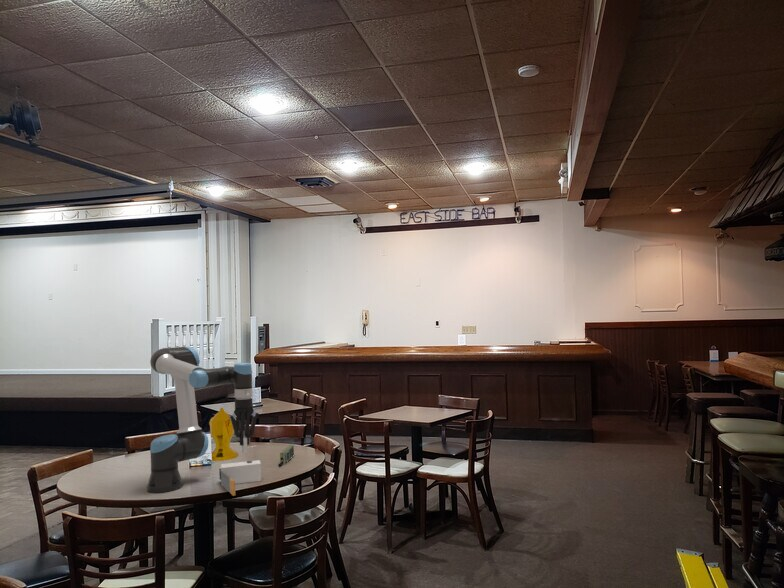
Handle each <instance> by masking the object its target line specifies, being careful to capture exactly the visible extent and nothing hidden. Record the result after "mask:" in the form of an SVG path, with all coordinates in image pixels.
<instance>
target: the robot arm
mask: <svg viewBox="0 0 784 588" xmlns="http://www.w3.org/2000/svg"><path fill="white" fill-rule="evenodd" d="M200 362H201V361H200V355H199V353H198V351H197V350H196V349H195V348H194V347H191V346H177V347H163V348H160V349H157V350H156V351H155V352H153V354H152V356H151V357H150V363H149V364H150V367H151V369H152V370H153V371H154V372H156V373H158V374H161V375H170V377H171V378H173V380H174V390H175V398H176V410H177V417H178V430H177V431H176V434H175V433H174V434H173V433H171V434H167V435H162V436H158V437H156V438H154V439H152V441H151V442H150V447H149V448H150V450H149V451H150V452H149V453H150V475H149V478H148V482H147V484H146V485H147V486H146V491H147V492H148V491H149V492H148V493H153V492H160V493H166V492H167V493H168V492H171V491H176V490H178V489H181V488H182V487H183V480H182V476H181V474H180V471H179V463H181V462H184V461H185V462H186V461H188V460H193V459H194V460H195V459H197V458H200V457H203V456H204V455H205V454H206V453H207V451H208V448H209V438H208V435H207V434H206V432H204V431H203V428H202V427H200V426H199V422H198V421H199V420H198V414H197V412H198V411H197V403H196V394H195V393H196V391H195V389H197V388H199V389H202V388H209V387H215V386H223V385H234V388H233V389H234V411H233V413H231V415H230V414H229V415H230V416H229V418H230V420H231V422H232V425H233V429H234V436H235V437H236V438H239V445H240V446H241V453H242V454H248V445H250V438H251V436H253V435H254V433H255V428H256V425H257V419H258V417H259V416H260V415H259V412H256V411H254V408H253V403H254V402H253V370H252V368H253V367H252V364H251V363H250V362H237V363H234V365H233V366H221V367H217V368H215V367H214V368H203V367H200ZM236 418H237V419H238V425H237V421H236ZM250 418H251V422H250ZM180 487H181V488H180Z"/></svg>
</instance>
